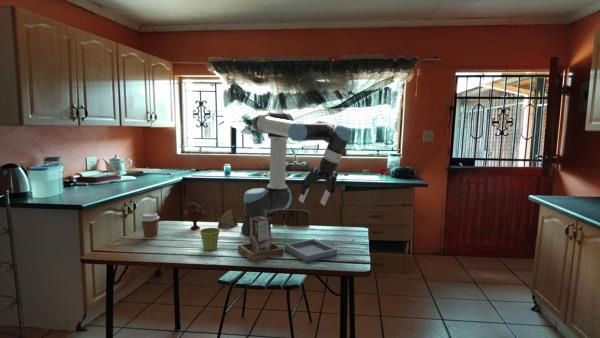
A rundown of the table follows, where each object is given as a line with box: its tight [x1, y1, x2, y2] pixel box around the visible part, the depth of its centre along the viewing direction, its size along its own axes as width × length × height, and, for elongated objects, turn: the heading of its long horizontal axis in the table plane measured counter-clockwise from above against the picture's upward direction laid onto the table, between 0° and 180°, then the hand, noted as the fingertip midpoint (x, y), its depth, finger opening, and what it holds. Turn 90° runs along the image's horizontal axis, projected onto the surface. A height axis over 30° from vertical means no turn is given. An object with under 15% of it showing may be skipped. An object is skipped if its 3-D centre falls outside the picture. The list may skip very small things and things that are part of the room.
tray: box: [284, 238, 338, 264], centre depth 162 cm, size 18×16×3 cm
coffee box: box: [249, 216, 272, 254], centre depth 161 cm, size 9×6×16 cm
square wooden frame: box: [237, 241, 284, 262], centre depth 162 cm, size 15×15×3 cm
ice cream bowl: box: [183, 201, 206, 231], centre depth 200 cm, size 11×11×15 cm
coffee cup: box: [140, 212, 161, 240], centre depth 184 cm, size 9×9×12 cm
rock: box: [217, 209, 239, 228], centre depth 206 cm, size 11×9×10 cm
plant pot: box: [199, 227, 221, 252], centre depth 168 cm, size 9×9×9 cm
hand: (311, 202), depth 162 cm, fingers open, 13 cm apart
